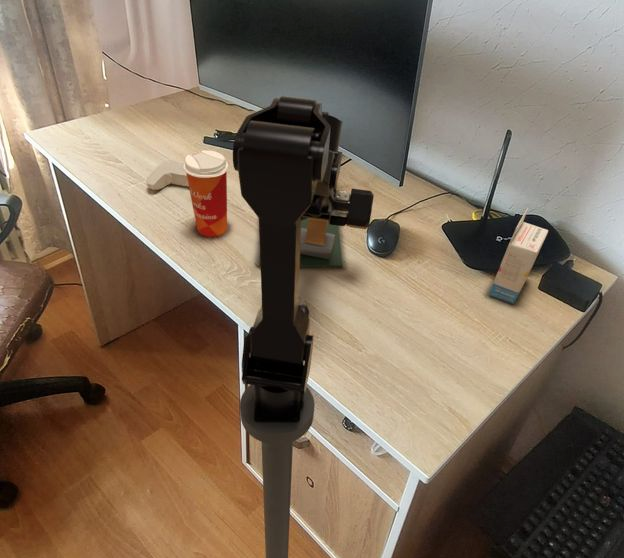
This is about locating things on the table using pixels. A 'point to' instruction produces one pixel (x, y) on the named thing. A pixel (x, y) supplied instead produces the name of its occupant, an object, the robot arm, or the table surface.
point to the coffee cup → (208, 191)
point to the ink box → (518, 261)
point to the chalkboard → (321, 262)
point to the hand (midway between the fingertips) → (320, 214)
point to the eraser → (316, 239)
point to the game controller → (167, 175)
